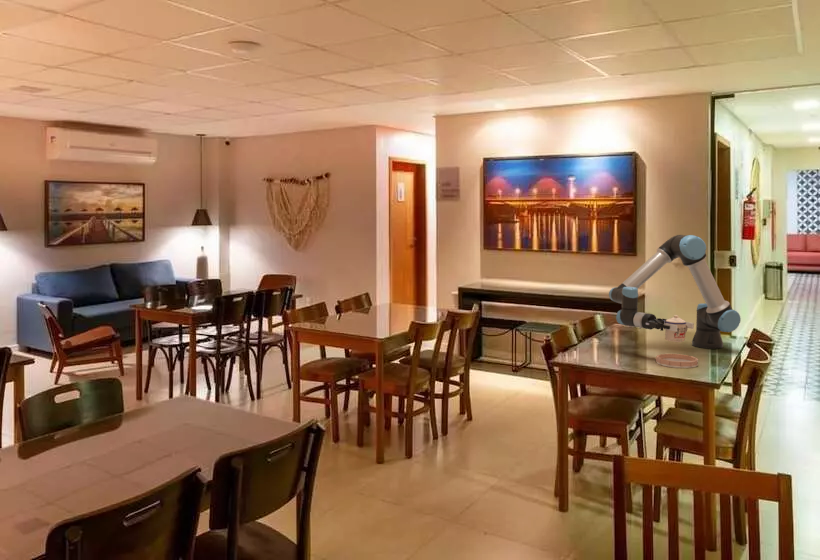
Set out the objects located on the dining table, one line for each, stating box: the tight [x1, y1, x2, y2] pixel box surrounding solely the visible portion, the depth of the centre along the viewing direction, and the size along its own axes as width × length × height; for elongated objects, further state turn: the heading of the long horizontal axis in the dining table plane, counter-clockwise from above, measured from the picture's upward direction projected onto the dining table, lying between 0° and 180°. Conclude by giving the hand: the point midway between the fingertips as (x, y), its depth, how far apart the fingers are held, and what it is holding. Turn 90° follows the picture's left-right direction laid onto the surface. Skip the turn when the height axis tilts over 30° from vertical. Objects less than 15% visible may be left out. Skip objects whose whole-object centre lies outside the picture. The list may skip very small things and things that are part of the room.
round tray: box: [655, 353, 699, 369], centre depth 313 cm, size 18×18×3 cm
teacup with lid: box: [664, 314, 689, 342], centre depth 312 cm, size 12×9×12 cm
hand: (685, 327), depth 309 cm, fingers closed on teacup with lid, 12 cm apart
